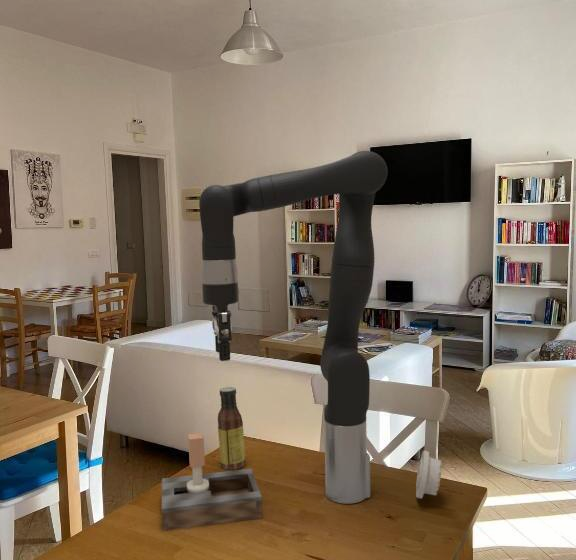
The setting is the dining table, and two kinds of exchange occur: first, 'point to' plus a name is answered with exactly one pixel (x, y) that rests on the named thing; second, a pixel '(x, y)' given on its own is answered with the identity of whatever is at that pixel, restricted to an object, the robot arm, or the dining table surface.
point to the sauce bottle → (230, 431)
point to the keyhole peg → (197, 464)
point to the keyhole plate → (216, 511)
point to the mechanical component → (428, 475)
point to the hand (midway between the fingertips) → (222, 356)
